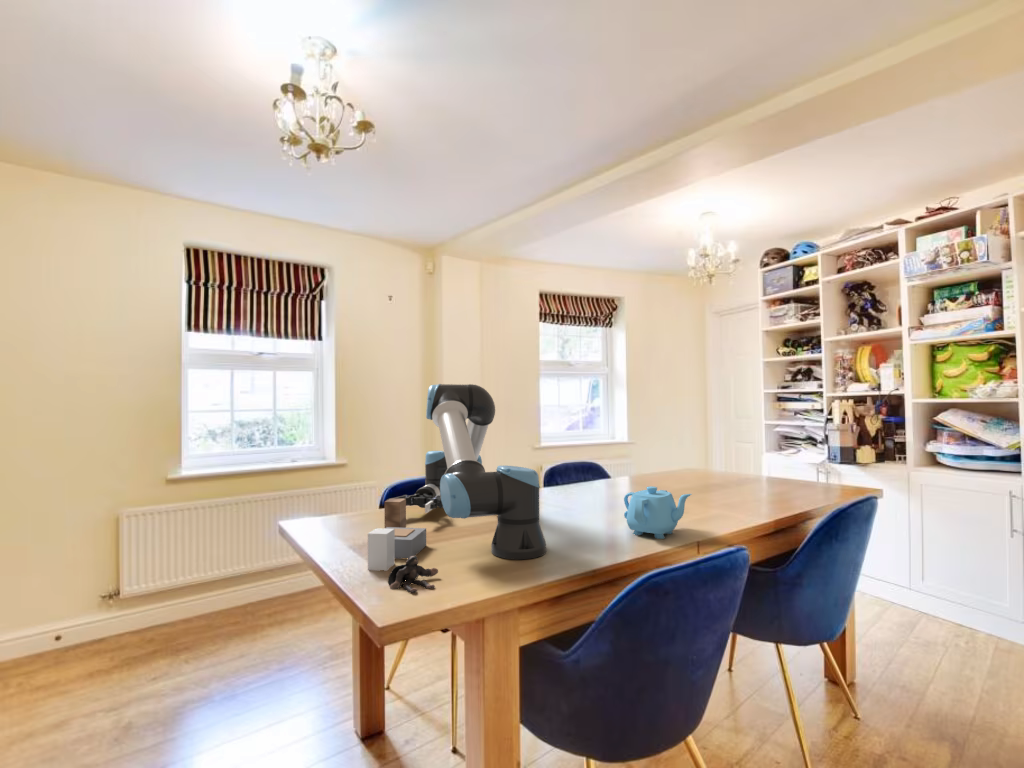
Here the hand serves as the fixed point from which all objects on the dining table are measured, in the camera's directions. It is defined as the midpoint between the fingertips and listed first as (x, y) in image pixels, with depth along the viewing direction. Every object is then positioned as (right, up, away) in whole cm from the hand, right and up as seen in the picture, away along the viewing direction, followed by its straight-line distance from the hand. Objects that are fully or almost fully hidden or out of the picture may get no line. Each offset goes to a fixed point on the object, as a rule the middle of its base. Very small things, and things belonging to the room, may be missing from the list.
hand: (406, 508), depth 164 cm
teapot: (+80, -6, -11) cm, 81 cm away
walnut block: (-1, -6, -9) cm, 11 cm away
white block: (+2, -5, -39) cm, 39 cm away
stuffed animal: (+12, -5, -49) cm, 51 cm away
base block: (+3, -6, -26) cm, 27 cm away
